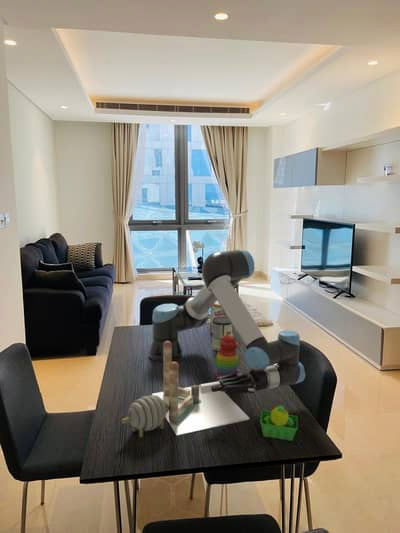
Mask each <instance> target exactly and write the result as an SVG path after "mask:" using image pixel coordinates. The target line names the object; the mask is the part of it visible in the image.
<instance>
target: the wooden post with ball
mask: <svg viewBox="0 0 400 533" xmlns="http://www.w3.org/2000/svg"><path fill="white" fill-rule="evenodd" d="M171 362H173V361H172V343H171V342H170V341H165V342H164V343H163V362H162V363H163V370H162V371H163V372H162V379H163V382H162V384H163V385H162V388H163V390H162V392H163V395H164V396H169V368H168V366H169V364H170V363H171ZM198 385H199V384H194V385H191V386H190V387H191V395H193V403H198V402H199V386H198ZM185 388H186V387H180V386H178V396H179V397H183V398H187V397H188V396H189V395H190V390H189V389H185Z"/></svg>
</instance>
